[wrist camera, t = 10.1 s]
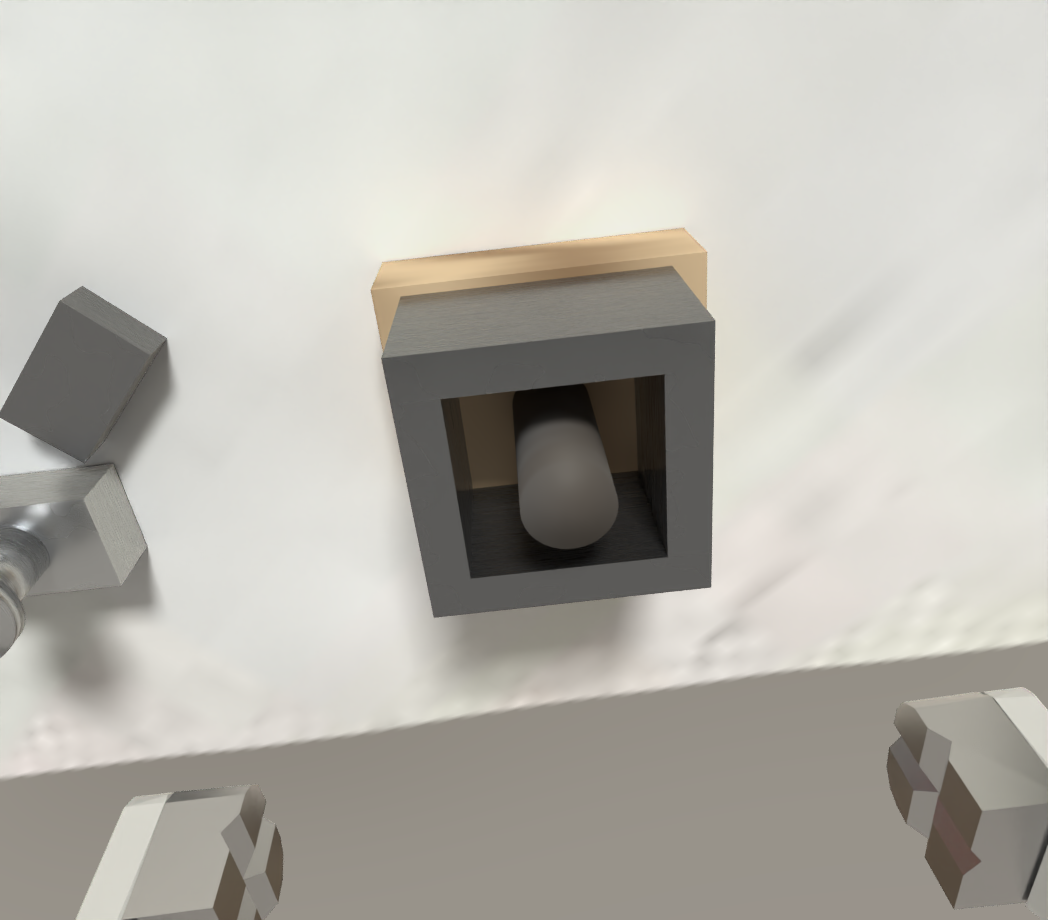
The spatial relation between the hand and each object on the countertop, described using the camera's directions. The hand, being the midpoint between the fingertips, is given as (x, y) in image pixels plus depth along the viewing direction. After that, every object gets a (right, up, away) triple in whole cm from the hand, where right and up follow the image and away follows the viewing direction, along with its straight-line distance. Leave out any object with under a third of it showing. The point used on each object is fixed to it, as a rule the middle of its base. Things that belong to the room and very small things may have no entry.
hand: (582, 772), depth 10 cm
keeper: (0, +7, +12) cm, 14 cm away
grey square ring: (0, +5, +10) cm, 12 cm away
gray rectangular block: (-13, +7, +12) cm, 19 cm away
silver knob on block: (-15, +2, +14) cm, 21 cm away
